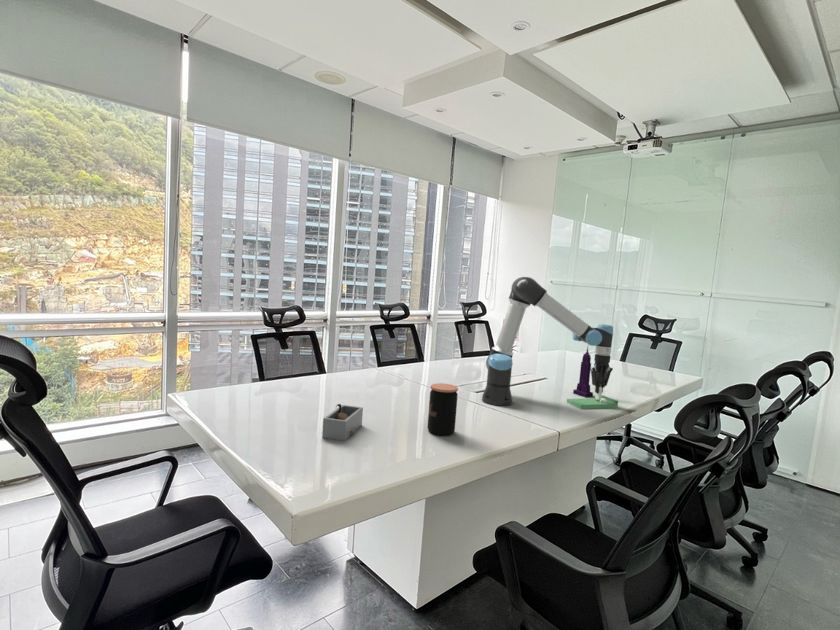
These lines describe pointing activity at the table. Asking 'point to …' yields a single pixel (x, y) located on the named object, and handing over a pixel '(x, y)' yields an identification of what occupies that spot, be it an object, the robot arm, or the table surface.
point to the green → (593, 403)
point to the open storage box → (342, 423)
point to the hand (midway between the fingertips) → (598, 398)
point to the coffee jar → (442, 409)
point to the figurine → (342, 416)
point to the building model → (584, 377)
